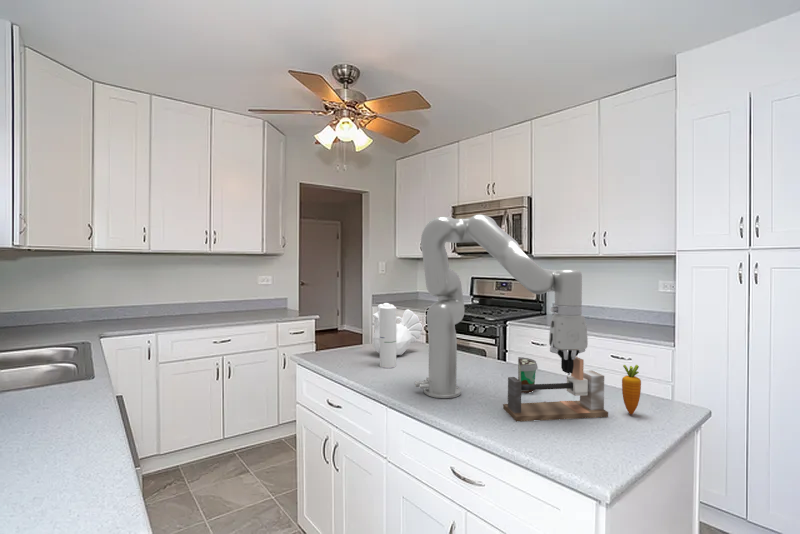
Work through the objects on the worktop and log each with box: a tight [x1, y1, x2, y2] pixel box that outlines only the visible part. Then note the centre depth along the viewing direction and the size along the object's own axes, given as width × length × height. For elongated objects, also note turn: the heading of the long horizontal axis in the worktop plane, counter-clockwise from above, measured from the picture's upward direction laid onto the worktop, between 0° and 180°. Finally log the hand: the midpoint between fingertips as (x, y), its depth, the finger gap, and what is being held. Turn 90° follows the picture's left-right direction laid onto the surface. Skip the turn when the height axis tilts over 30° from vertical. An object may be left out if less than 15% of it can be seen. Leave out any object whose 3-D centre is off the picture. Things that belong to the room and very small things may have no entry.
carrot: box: [621, 364, 642, 416], centre depth 122 cm, size 5×5×15 cm
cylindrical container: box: [379, 306, 398, 369], centre depth 176 cm, size 7×7×25 cm
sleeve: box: [566, 356, 588, 397], centre depth 124 cm, size 4×5×11 cm
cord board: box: [502, 370, 609, 423], centre depth 123 cm, size 28×10×12 cm, turn 97°
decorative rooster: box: [372, 302, 423, 356], centre depth 197 cm, size 25×16×25 cm, turn 102°
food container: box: [517, 356, 539, 394], centre depth 145 cm, size 12×6×10 cm, turn 168°
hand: (567, 371), depth 123 cm, fingers closed
